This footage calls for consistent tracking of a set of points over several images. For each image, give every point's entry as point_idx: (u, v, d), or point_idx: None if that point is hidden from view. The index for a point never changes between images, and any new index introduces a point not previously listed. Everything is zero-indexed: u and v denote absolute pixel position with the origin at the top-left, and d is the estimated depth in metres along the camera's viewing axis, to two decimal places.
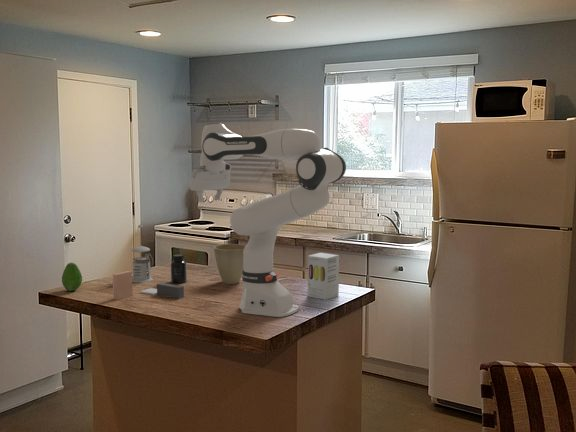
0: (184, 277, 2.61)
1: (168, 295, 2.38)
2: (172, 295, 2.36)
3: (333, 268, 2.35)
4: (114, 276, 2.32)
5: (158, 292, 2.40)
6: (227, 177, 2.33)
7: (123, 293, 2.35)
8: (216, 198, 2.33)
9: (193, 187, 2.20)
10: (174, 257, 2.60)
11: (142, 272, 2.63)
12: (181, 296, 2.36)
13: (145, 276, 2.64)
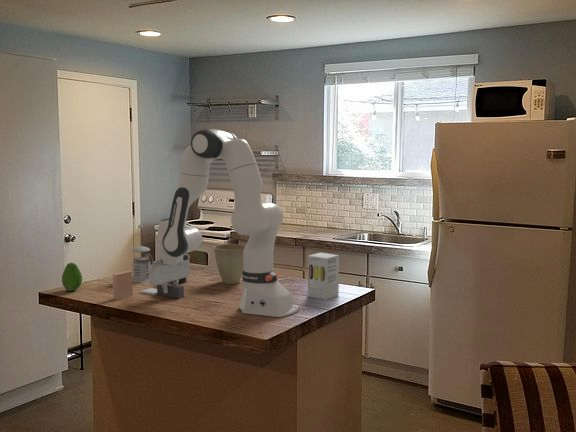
0: None
1: (168, 295, 2.38)
2: (172, 295, 2.36)
3: (333, 268, 2.35)
4: (114, 276, 2.32)
5: (158, 292, 2.40)
6: (186, 266, 2.43)
7: (123, 293, 2.35)
8: None
9: (152, 282, 2.29)
10: None
11: (142, 272, 2.63)
12: (181, 296, 2.36)
13: (145, 276, 2.64)
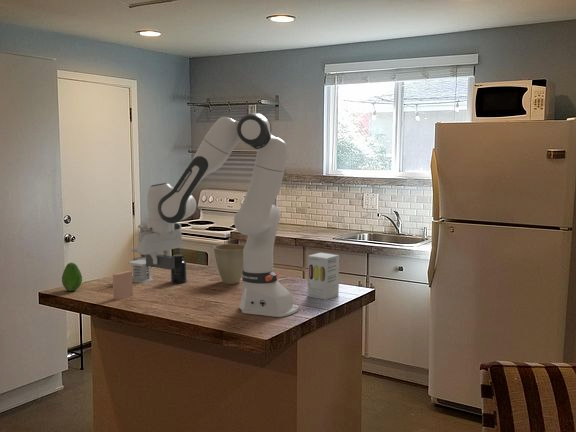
0: (184, 277, 2.61)
1: (158, 266, 2.22)
2: (162, 266, 2.21)
3: (333, 268, 2.35)
4: (114, 276, 2.32)
5: (147, 263, 2.25)
6: (178, 236, 2.28)
7: (123, 293, 2.35)
8: None
9: (140, 251, 2.14)
10: (174, 257, 2.60)
11: (142, 272, 2.63)
12: (172, 267, 2.20)
13: (145, 276, 2.64)
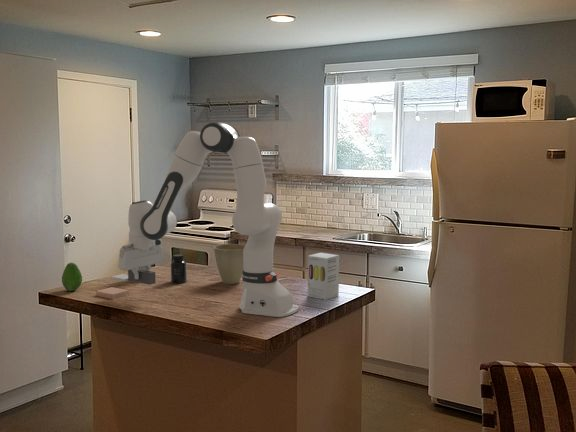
0: (184, 277, 2.61)
1: (139, 281, 2.28)
2: (143, 281, 2.27)
3: (333, 268, 2.35)
4: (97, 294, 2.39)
5: (129, 278, 2.31)
6: (159, 252, 2.34)
7: (116, 292, 2.37)
8: None
9: (121, 267, 2.20)
10: (174, 257, 2.60)
11: None
12: (152, 282, 2.26)
13: None
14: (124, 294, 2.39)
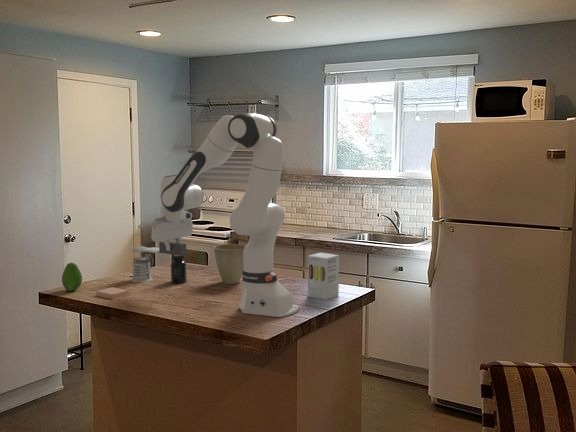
0: (184, 277, 2.61)
1: (170, 252, 2.37)
2: (174, 252, 2.36)
3: (333, 268, 2.35)
4: (97, 294, 2.39)
5: (160, 250, 2.40)
6: (189, 225, 2.43)
7: (116, 292, 2.37)
8: None
9: (154, 238, 2.29)
10: (174, 257, 2.60)
11: (142, 272, 2.63)
12: (183, 253, 2.35)
13: (145, 276, 2.64)
14: (124, 294, 2.39)
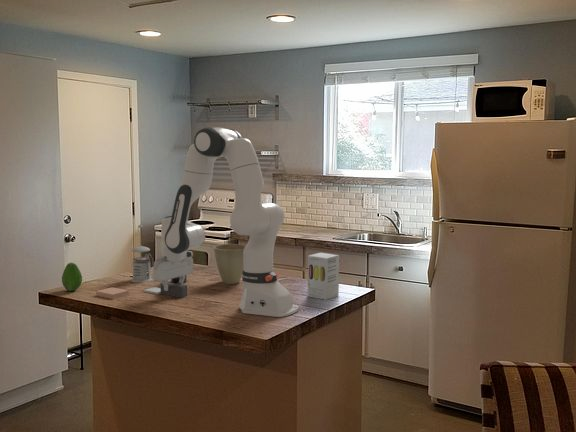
0: None
1: (172, 294, 2.39)
2: (176, 294, 2.38)
3: (333, 268, 2.35)
4: (97, 294, 2.39)
5: (162, 291, 2.42)
6: (190, 263, 2.45)
7: (116, 292, 2.37)
8: None
9: (156, 278, 2.31)
10: None
11: (142, 272, 2.63)
12: (184, 295, 2.37)
13: (145, 276, 2.64)
14: (124, 294, 2.38)
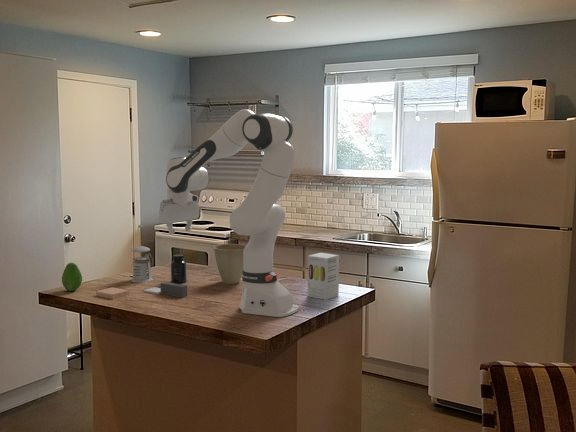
0: (184, 277, 2.61)
1: (172, 294, 2.39)
2: (176, 294, 2.38)
3: (333, 268, 2.35)
4: (97, 294, 2.39)
5: (162, 291, 2.42)
6: (195, 208, 2.43)
7: (116, 292, 2.37)
8: (187, 229, 2.42)
9: (162, 220, 2.29)
10: (174, 257, 2.60)
11: (142, 272, 2.63)
12: (185, 295, 2.37)
13: (145, 276, 2.64)
14: (124, 294, 2.38)
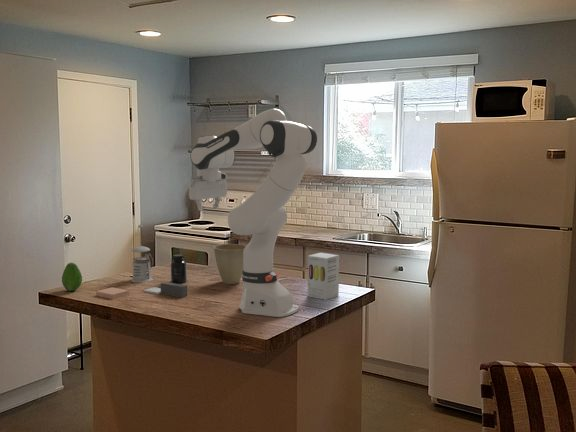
0: (184, 277, 2.61)
1: (172, 294, 2.39)
2: (176, 294, 2.38)
3: (333, 268, 2.35)
4: (97, 294, 2.39)
5: (162, 291, 2.42)
6: (224, 186, 2.48)
7: (116, 292, 2.37)
8: (215, 206, 2.46)
9: (192, 196, 2.34)
10: (174, 257, 2.60)
11: (142, 272, 2.63)
12: (185, 295, 2.37)
13: (145, 276, 2.64)
14: (124, 294, 2.38)
